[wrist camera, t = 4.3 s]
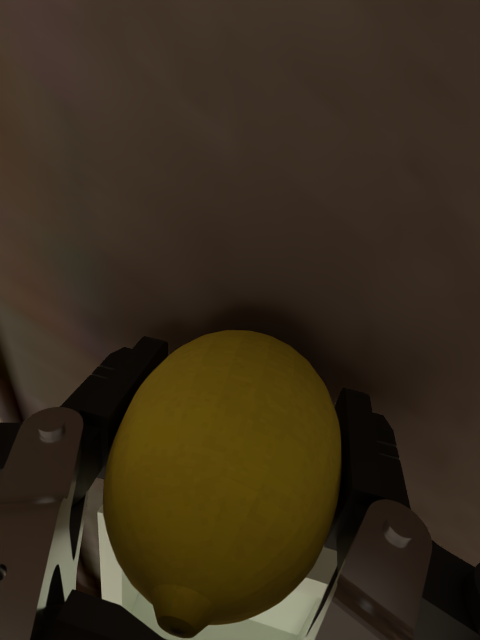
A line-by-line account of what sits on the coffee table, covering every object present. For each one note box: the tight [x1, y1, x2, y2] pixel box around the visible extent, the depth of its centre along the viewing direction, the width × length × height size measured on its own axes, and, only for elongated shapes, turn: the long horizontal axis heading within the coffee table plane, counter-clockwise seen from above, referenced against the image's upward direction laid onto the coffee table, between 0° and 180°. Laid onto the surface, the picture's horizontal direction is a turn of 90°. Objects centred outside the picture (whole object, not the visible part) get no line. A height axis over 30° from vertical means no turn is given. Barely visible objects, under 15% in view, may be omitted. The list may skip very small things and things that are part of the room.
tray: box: [98, 503, 337, 640], centre depth 17 cm, size 11×11×3 cm
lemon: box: [103, 330, 342, 638], centre depth 9 cm, size 6×6×8 cm
